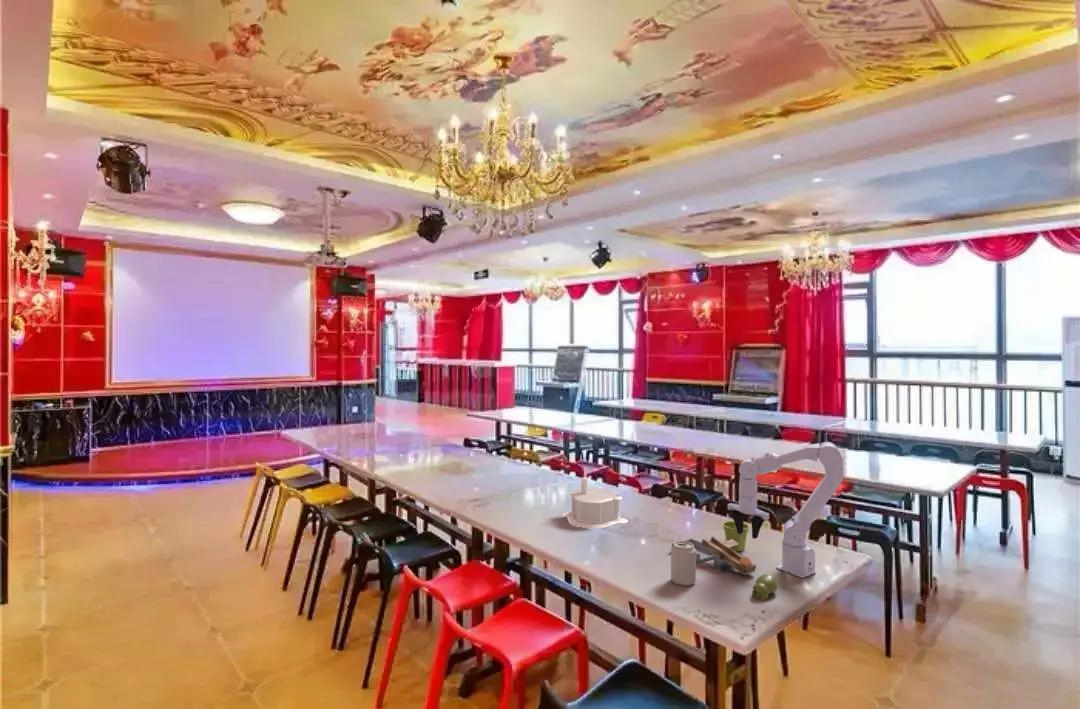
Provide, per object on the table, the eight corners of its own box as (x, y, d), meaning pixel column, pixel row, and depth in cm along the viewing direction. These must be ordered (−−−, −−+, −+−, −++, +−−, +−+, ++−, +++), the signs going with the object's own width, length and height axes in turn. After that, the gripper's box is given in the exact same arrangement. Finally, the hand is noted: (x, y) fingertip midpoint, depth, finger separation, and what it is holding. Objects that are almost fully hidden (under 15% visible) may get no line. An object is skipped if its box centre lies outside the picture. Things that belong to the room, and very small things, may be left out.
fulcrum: (741, 566, 186) (741, 552, 186) (723, 572, 181) (723, 558, 181) (726, 560, 191) (726, 547, 191) (708, 566, 186) (708, 552, 186)
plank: (769, 567, 183) (771, 560, 183) (743, 575, 176) (745, 569, 175) (726, 537, 198) (727, 531, 197) (700, 544, 191) (702, 538, 190)
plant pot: (716, 545, 205) (716, 522, 205) (737, 542, 208) (737, 519, 208) (733, 554, 196) (733, 530, 196) (755, 551, 200) (755, 527, 200)
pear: (780, 574, 166) (765, 590, 159) (781, 591, 167) (766, 607, 160) (762, 569, 170) (746, 583, 163) (763, 585, 171) (747, 600, 164)
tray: (718, 557, 194) (718, 548, 194) (698, 563, 189) (698, 554, 189) (691, 546, 204) (691, 538, 204) (671, 551, 199) (671, 543, 199)
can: (691, 576, 177) (691, 539, 177) (698, 587, 170) (699, 548, 170) (668, 577, 177) (668, 539, 177) (674, 587, 170) (674, 548, 169)
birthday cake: (637, 514, 244) (637, 465, 244) (621, 534, 218) (621, 479, 218) (572, 506, 256) (573, 459, 256) (550, 524, 229) (550, 472, 229)
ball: (748, 568, 180) (755, 563, 178) (741, 571, 178) (748, 565, 176) (742, 558, 182) (748, 553, 180) (735, 561, 180) (741, 555, 178)
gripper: (774, 498, 185) (774, 539, 185) (736, 489, 197) (735, 527, 197) (762, 502, 181) (762, 543, 181) (724, 492, 193) (723, 531, 193)
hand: (747, 535), depth 189 cm, fingers open, 5 cm apart
